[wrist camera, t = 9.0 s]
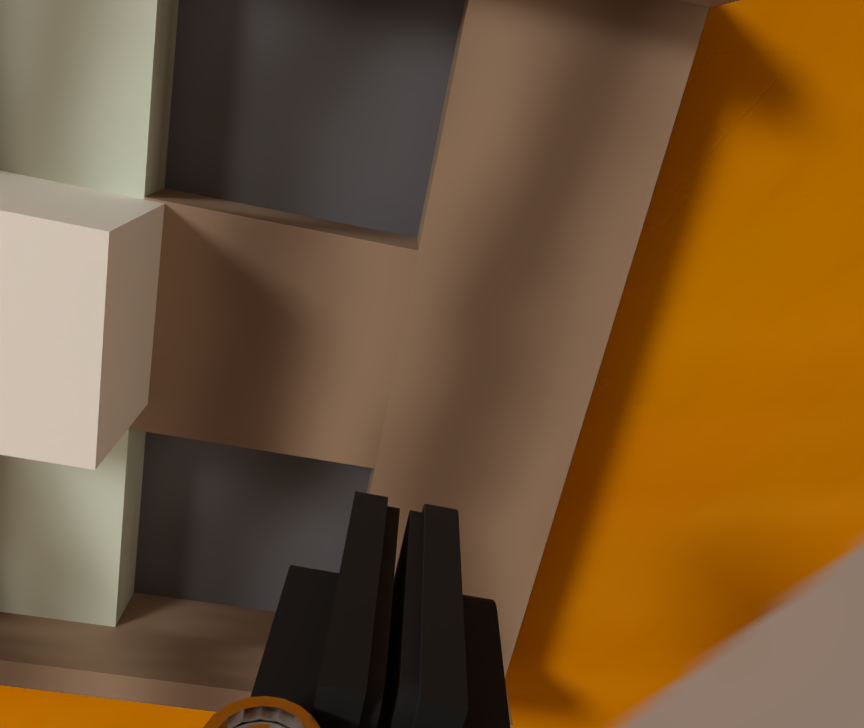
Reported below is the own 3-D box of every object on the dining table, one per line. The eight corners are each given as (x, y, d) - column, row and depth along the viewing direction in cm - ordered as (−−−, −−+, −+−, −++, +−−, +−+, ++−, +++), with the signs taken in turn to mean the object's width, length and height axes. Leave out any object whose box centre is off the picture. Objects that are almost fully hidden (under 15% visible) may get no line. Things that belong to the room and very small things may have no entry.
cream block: (164, 203, 20) (108, 231, 16) (147, 403, 22) (95, 470, 18) (-70, 156, 19) (-185, 173, 15) (-65, 367, 21) (-165, 428, 17)
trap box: (692, -25, 20) (759, -50, 16) (491, 659, 28) (505, 747, 25) (-78, -215, 18) (-204, -292, 14) (-53, 585, 26) (-129, 669, 22)
